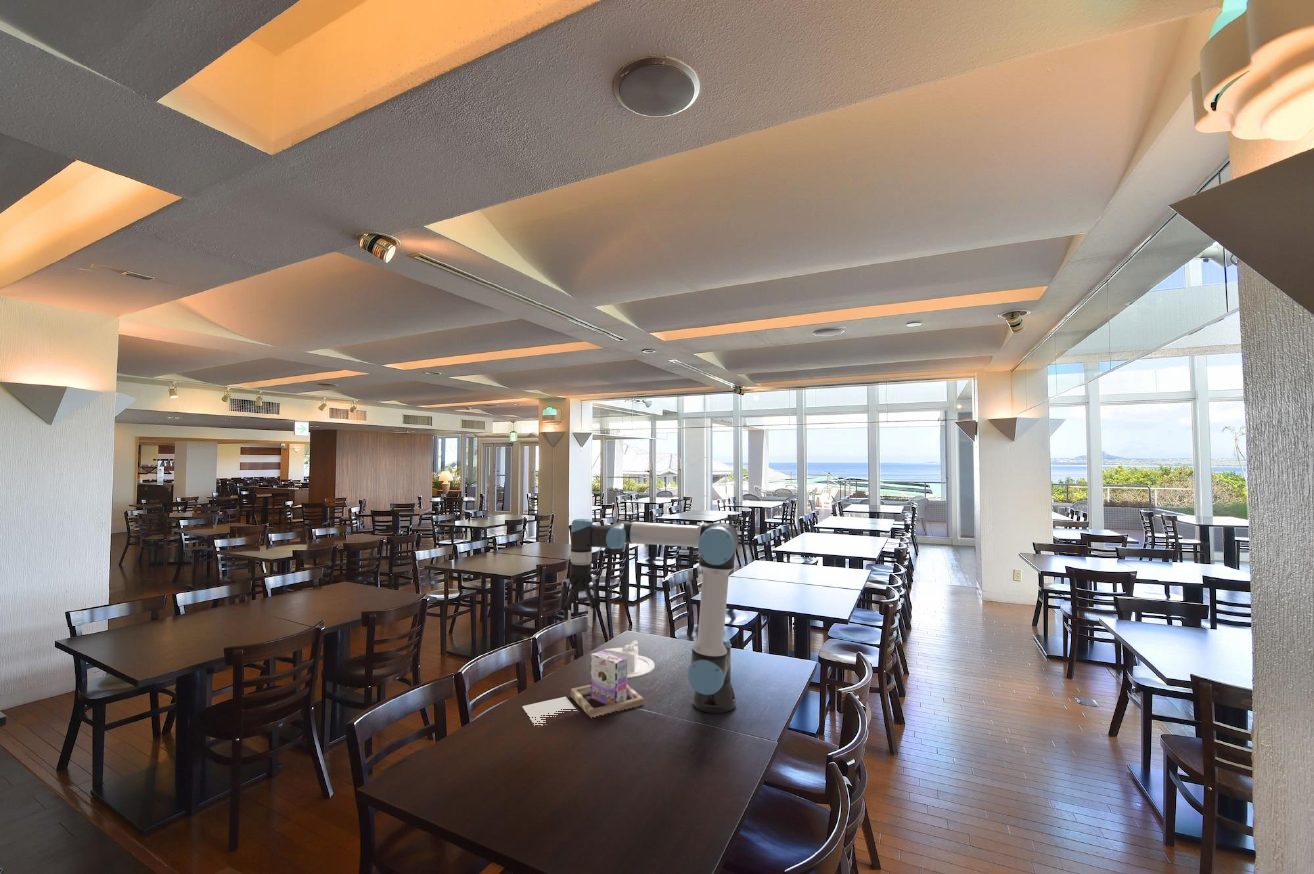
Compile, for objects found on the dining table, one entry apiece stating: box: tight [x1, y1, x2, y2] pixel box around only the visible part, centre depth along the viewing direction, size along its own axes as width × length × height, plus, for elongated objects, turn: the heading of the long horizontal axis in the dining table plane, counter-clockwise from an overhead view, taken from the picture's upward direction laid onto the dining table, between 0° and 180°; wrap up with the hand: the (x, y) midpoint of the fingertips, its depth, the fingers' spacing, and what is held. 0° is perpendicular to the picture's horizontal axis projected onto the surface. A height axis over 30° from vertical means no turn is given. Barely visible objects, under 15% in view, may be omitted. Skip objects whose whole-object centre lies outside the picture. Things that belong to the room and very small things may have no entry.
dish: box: [603, 640, 656, 679], centre depth 225 cm, size 25×25×11 cm
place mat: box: [521, 696, 578, 726], centre depth 183 cm, size 20×16×1 cm
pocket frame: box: [570, 684, 645, 719], centre depth 193 cm, size 20×20×3 cm
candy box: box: [590, 650, 628, 706], centre depth 193 cm, size 14×6×16 cm, turn 48°
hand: (579, 627), depth 189 cm, fingers open, 7 cm apart
